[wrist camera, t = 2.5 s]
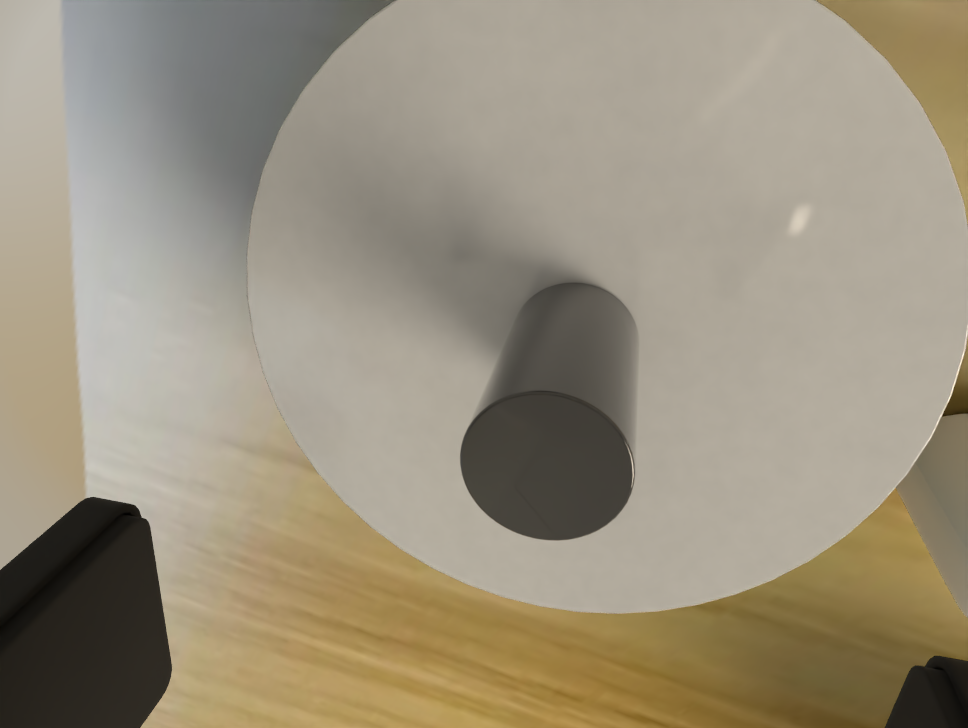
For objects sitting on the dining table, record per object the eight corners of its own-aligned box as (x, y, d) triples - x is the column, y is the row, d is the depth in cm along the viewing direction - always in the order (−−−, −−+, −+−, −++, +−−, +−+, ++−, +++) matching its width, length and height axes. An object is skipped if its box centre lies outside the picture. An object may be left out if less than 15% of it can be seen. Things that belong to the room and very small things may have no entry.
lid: (241, -82, 16) (7, -134, 10) (1087, -31, 14) (1419, -62, 8) (283, 530, 23) (160, 704, 18) (837, 636, 21) (909, 880, 15)
